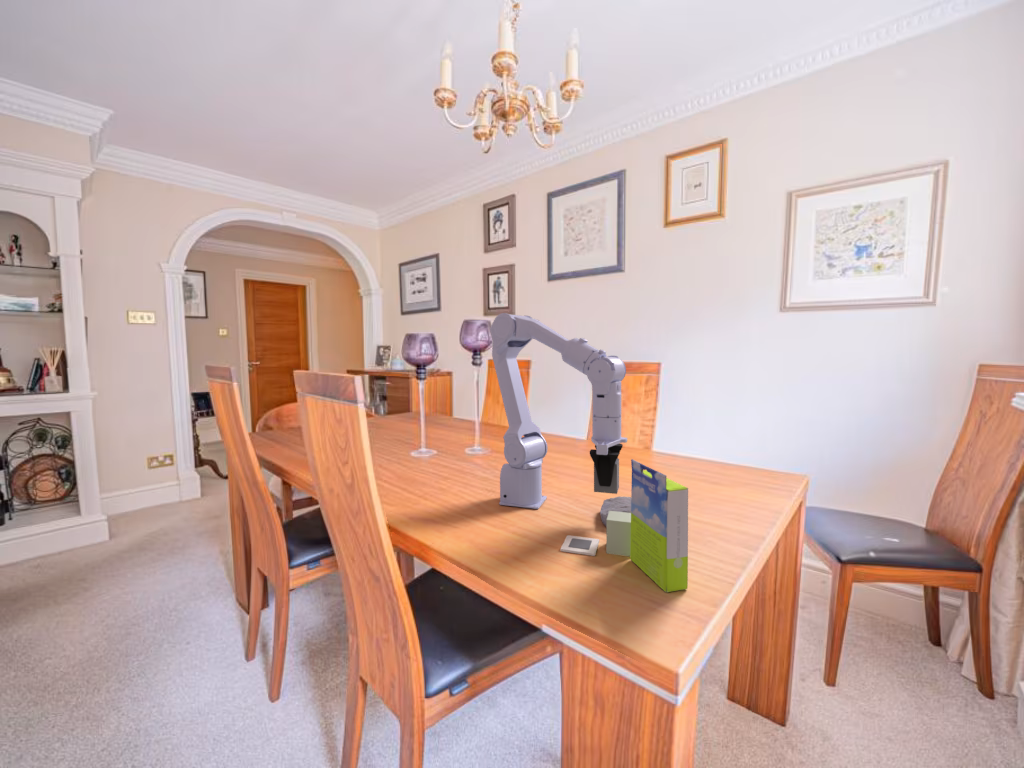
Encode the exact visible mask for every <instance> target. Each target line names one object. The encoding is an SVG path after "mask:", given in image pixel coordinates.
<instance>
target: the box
mask: <svg viewBox="0 0 1024 768" xmlns="http://www.w3.org/2000/svg"><path fill="white" fill-rule="evenodd" d="M630 461H631V490H630V491H631V493H630V494H631V495H630V496H631V545H630V547H631V548H630V556H629V559H630V561H632V563H634V564H635V565H636V566H637V567H638V568H639V569H641V571H642V572H643V573H645V574H646V576H648V577H649V578H650V579H651V580H652V581H654V582H655V584H656V585H657V586H658V587H659V588H661V589H662V591H663V592H665V593H670V592H676V591H677V592H679V591H683V590H684V591H685V590H688V585H689V584H688V581H689V580H688V579H689V578H688V576H689V575H688V573H689V572H688V571H689V569H688V568H689V488H688V487H687V486H684V485H682V484H681V483H678V482H676V481H674V480H672V479H670V478H668V477H667V475H666V474H664V473H661V472H659V471H658V470H655V469H653V468H651V467H650V466H646V465H645V464H643V463H641V462H639V461H637V460H635V459H633V458H631V459H630Z"/></svg>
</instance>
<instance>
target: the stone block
mask: <svg viewBox="0 0 1024 768" xmlns="http://www.w3.org/2000/svg"><path fill="white" fill-rule="evenodd" d="M609 511H617V512H626V513H631V497H630V496H615V497H610V498H607V499H604V500H603V503H602V504H601V507H600V511H599V514H600V518H601V522H602V524H603V525H604V526H605V527H606V528H607V517H608V513H609Z"/></svg>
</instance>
